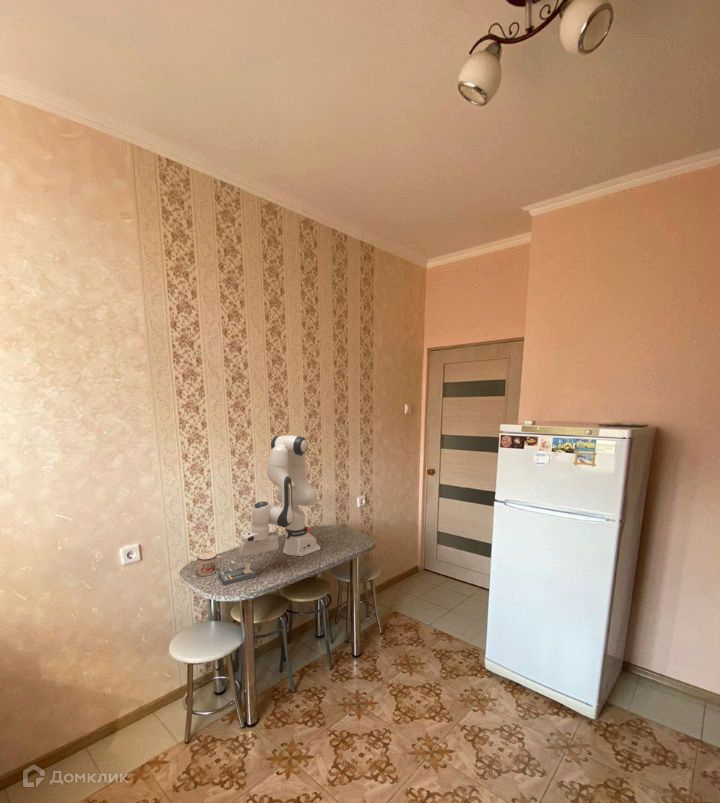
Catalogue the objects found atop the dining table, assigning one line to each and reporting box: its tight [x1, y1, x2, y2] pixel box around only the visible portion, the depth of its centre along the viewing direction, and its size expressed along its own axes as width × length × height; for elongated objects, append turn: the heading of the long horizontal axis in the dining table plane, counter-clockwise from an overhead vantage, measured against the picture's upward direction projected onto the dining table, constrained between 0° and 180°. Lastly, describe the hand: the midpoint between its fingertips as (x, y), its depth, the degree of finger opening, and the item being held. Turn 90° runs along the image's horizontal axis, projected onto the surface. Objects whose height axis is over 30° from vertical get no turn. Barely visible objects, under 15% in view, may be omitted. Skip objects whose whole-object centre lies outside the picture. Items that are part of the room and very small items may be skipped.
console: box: [218, 560, 257, 586], centre depth 186 cm, size 16×11×7 cm
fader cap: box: [243, 561, 251, 574], centre depth 186 cm, size 3×3×5 cm
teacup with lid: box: [197, 549, 223, 577], centre depth 190 cm, size 12×9×12 cm
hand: (258, 561), depth 189 cm, fingers closed
